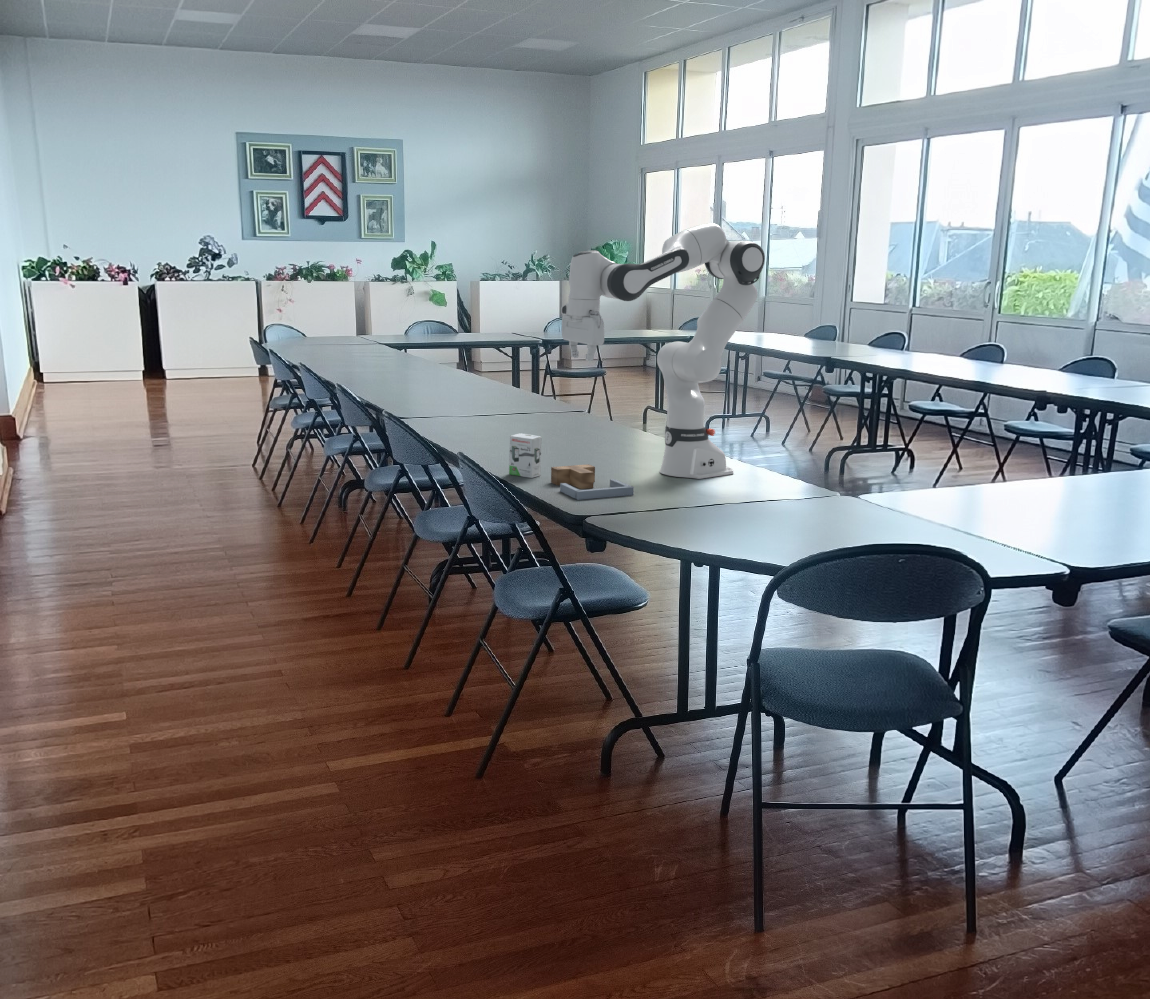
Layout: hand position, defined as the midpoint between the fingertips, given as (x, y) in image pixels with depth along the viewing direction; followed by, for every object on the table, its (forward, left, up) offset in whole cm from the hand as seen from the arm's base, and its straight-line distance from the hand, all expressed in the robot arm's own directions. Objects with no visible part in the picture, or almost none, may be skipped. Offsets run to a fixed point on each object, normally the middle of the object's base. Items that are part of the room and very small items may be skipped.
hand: (581, 359), depth 299 cm
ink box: (+12, -11, -35) cm, 39 cm away
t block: (+3, +6, -35) cm, 36 cm away
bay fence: (+3, +18, -35) cm, 39 cm away
